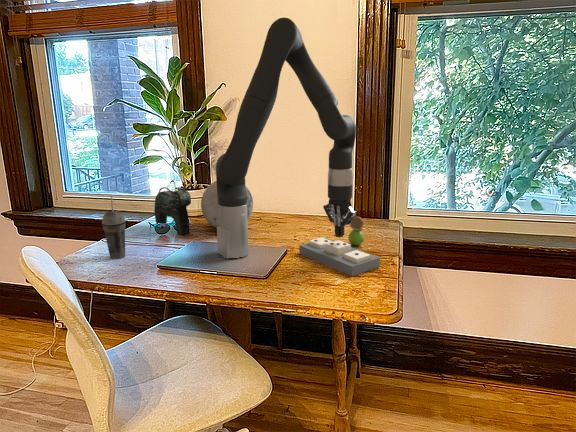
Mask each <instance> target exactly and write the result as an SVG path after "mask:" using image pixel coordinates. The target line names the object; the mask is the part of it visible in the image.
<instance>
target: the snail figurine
mask: <svg viewBox="0 0 576 432" xmlns="http://www.w3.org/2000/svg"><path fill="white" fill-rule="evenodd" d="M348 225H349V228H351V229H352V230H351V231H350V232H349V233H348V241H349V244H351V245H353V246H360V245H362V244H363V242H364V240H365V234H364V233H363V232H362V231H363V230H364V228H363V226H364V221H363V218H362V217H360V216H357V215H356V216H355V217H354V219H353V220H352V221H351V223H350V224H348Z"/></svg>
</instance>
